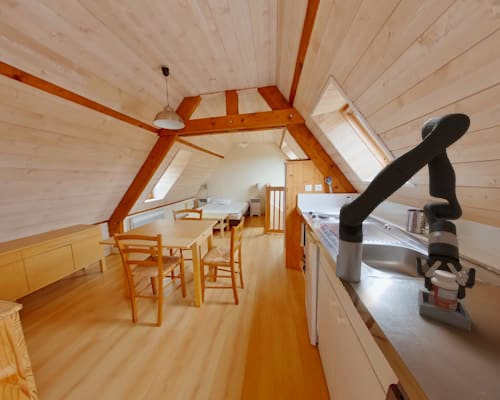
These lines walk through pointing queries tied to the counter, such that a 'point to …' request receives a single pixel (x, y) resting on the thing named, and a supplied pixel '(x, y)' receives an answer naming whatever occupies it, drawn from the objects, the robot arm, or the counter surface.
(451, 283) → the pill bottle
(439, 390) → the counter surface
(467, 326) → the charcoal bin
